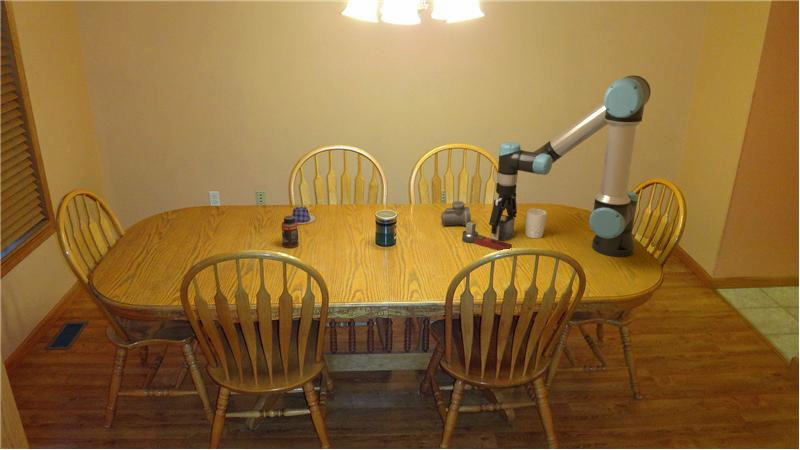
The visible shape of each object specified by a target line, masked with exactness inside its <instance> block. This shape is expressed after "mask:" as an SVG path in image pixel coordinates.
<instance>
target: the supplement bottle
mask: <svg viewBox="0 0 800 450" xmlns="http://www.w3.org/2000/svg"><path fill="white" fill-rule="evenodd" d="M291 215H292V214H291ZM291 215H285V216H283V222H282V223H281V235H282V236H281V237H282V238H281V239H282V246H283V247H285V248H287V249H293V248H296V247H298V246H299V244H300V242H299V227H298V225H299V224H297V222H296V221H295V217H294V216H291Z"/></svg>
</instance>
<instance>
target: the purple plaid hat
mask: <svg viewBox="0 0 800 450" xmlns="http://www.w3.org/2000/svg"><path fill="white" fill-rule="evenodd" d="M291 216H294V217H295V221H296V222H297V224H298V225H303V224H308V223H312V222H314V221H315V220H316V217H315V216H314V215H313V214H310V212H309V210H308V208H307V207H305V206H296V207H294V208H293V209H292V214H291Z"/></svg>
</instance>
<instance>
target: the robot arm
mask: <svg viewBox="0 0 800 450" xmlns="http://www.w3.org/2000/svg"><path fill="white" fill-rule="evenodd" d="M651 94H652V92H651V85H650V84H649V82H648V81H647V79H645V78H644V77H642V76H639V75H636V74H635V75H628V76H625V77H623V78H619V79H616V80H615V81H613V83H611V85H609V86H608V88H607V89H606V91H605V93H604V97H603V101H602V102H600V103H598V104H597V105H595V107H593V108H592V109H591V110H590V111H588V112H586V113H585V114H584V115H583V116H581V117H580V118H578V119H577V120H576V121H574V122H573V123H572V124H571V125H569V126H568V127H567V128H565V129H564V130H562V131H560V132H559V133H558V134H557V135H556V136H555V137H553V138H551V139H550V140H549V141H547V142H546V143H545V144H543V145H542V146H541V147H539V148H537V149H536V150H534V151H528V150H527V151H526V150H522V147H521V145H520V144H519V143H516V142H515V141H514V142H513V141H507V142H503V143H501V144H500V145H499V152H498V164H497V165H498V166H497V173H496V177H497V179H496V186H495V193H496V194H498V198H497V199H494V200H493V206H492V210H491V215H490V219H489V223H488V225H489V226H491V228H492V234H491V233H490V238H491V239H495V240H498V236H499V226H498V225H499V222H500V219H501V216H502V215H504V214H503V213H504V211H506V214H507V216H510V217H514V218H517V214H518V210H517V209H518V208H517V183H518V177H519V176H518V173H519V172H525V173H531V174H536V175H541V176H547V175H548V174H549V173H550V172H551V170H552V166H553V164H554V163H556V162H557V161H558V160H560V159H561V158H562V157H563V156H565V155H567V153H569V152H570V151H572V150H573V149H574V148H576V147H577V146H579V145H581V144H582V143H583V142H584V141H586V140H588V139H589V138H590V137H592V136H593V135H595V134H596V133H597V132H598V131H600V130H602V129H603V128H604V127H606V126H608V128H607V134H606V135H607V137H606V143H605V144H606V145H605V153H604V159H603V160H604V161H603V166H602V167H603V168H602V170H603V171H602V175H601V176H602V177H601V185H600V191H599V192H598V193H597V194H596V195H595V197H594V203H593V211H592V212H591V213H590V216H589V218H588V219H589V221H588V222H589V223H588V224H589V227H590V229H591V231H592V232H593V233H594V237H593V238H592V240H591V241H592V242H591V248H592V249H593V250H594V251H595V252H598V253H600V254H603V255H606V256H610V257H617V258H618V257H629V256H632V255H633V254H632V253H634V251H635V243H634V237H633V228H634V223H635V216H636V211H637V206H638V203H639V200H638V199H639V196H638V194H637V193H635V192H633V191H630V190H628V187H629V179H630V172H631V166H632V157H633V152H634V144H635V143H634V142H635V136H636V131H637V130H636V129H637V126H638V125H639V124H641V123H642V121H643V117H644V110H645V106H646V104H648V101H649V99H650V97H651ZM498 241H499V240H498ZM628 255H629V256H628Z"/></svg>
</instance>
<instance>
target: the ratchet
mask: <svg viewBox="0 0 800 450" xmlns="http://www.w3.org/2000/svg"><path fill="white" fill-rule="evenodd" d="M476 225H477V224H476V222H472V221H471V222H468V223H467V224H466V226H465V230H463V231H462V235H461V236H462V237H461V241H462V242H464V243H467V244H474V245H477V246H481V247H485V248H488V249H491V250H495V251H498V250H503V249H510V248H512V249H513V244H512V243H509V242H506V241H502V240H495V239H491V237H487V236H485V235H482V234H479V232H478V231H476V228H477V227H476Z"/></svg>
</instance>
